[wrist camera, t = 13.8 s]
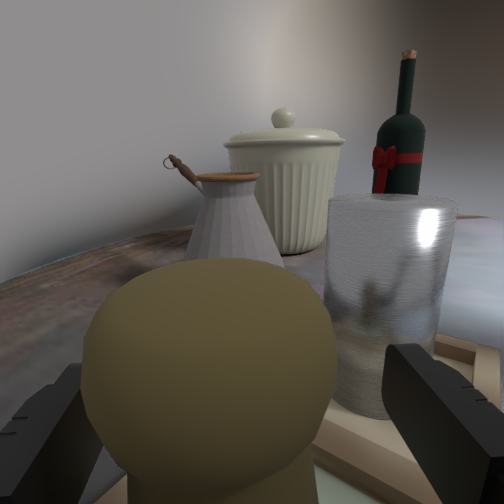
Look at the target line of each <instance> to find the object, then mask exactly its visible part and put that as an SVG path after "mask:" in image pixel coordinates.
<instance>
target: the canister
mask: <svg viewBox="0 0 504 504" xmlns="http://www.w3.org/2000/svg"><path fill="white" fill-rule="evenodd" d="M271 120H272V124H273V126H274V127H275V128H273V129H261V130H252V131H246V132H241V133H238V134H235V135H233V136H232V137H231V139H230V140H229V142H225V143H224V144H223V145H224V147H225V148H227V149H228V153H229V161H230V169H231V173H235V172H253V173H259V174H260V177H259V178H258V179H256V183H255V189H254V196H255V198H256V201H257V203H258V205H259V207H260V210H261V212H262V214H263V216H264V219H265V221H266V223H267V226H268V228H269V230H270V232H271V235H272V237H273V239H274V242H275V244H276V246H277V248H278V251H279V253H280V254H296V253H302V252H307V251H310V250H313V249H314V248H316V247H318V246H319V245H320V244H321V242H322V241H323V239H324V237H325V234H326V230H327V215H328V200H329V199H330V198H332V197H333V192H334V185H335V179H336V173H337V166H338V159H339V152H340V146H341V145H342V144H344V143H345V139H340V138H339V136H338V135H337V134H336V133H335V132H333V131H331V130H326V129H317V128H291V127H292V126H293V124H294V122H295V114H294V112H293V111H292V110H291V109H288V108H281V109H277V110H275V111H274V113H273V114H272V117H271Z"/></svg>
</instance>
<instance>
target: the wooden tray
mask: <svg viewBox="0 0 504 504" xmlns="http://www.w3.org/2000/svg"><path fill="white" fill-rule="evenodd" d="M433 359H434V360H440V361H442V362H443V363H445V364H447V365H448V366H450V367H452V368H454V369H455V370H457V371H459V372H460V373H461V374H462V375H463V376H464V377H465V378H466V379H467V380H468V381H469V382H470V383H472V384H473V385H474V388H475V389H478V390H479V391H480V392H481V393H482V394H483V395H484V396H485V397H486V398H487V399H488V402H492V403H493V404H494V405H495V406H496V407H497V408H498V409H499V410H500V411H501V388H500V349H496V348H493V347H489V346H485V345H481V344H477V343H473V342H470V341H466V340H462V339H458V338H454V337H451V336H447V335H443V334H439V333H437V335H436V341H435V347H434V353H433ZM311 447H312V455H313V462H314V470H315V478H316V486H317V493H318V501H319V504H442V502H441V501H440V499H439V497H438V496H437V494H436V492H435V491H434V489H433V487H432V486H431V484H430V483H429V481H428V479H427V478H426V476H425V474H424V473H423V471H422V469H421V468H420V466H419V464H418V463H417V461H416V460H415V458H414V456H413V455H412V453H411V451H410V450H409V448H408V446H407V445H406V443H405V442H404V440H403V438H402V437H401V435H400V433H399V432H398V430H397V428H396V427H395V425H394V424H393V422H392V421H385V420H376V419H371V418H367V417H364V416H361V415H358V414H356V413H353V412H351V411H349V410H347V409H345V408H344V407H342V406H341V405H339V404H338V403H337V402H335V401H334V400H333V399H332V398H331V400H330V403H329V405H328V408H327V410H326V413H325V415H324V418H323V420H322V423H321V425H320V428H319V430H318V432H317V435H316V437H315V439H314V440H313V441H312V442H311ZM94 504H127V474H126V475H125V476H124V477H123V478H122V479H121V480H120V481H118V482H117V483H116V484H115V485H114V486H113V487H112V488H111V489H109V490H108V491H107V492H106V493H105V494H104V495H103V496H102V497H100V498H99V499H98V500H97V501H96V502H95V503H94Z"/></svg>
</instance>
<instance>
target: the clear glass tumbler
mask: <svg viewBox="0 0 504 504" xmlns="http://www.w3.org/2000/svg"><path fill="white" fill-rule="evenodd" d="M457 209H458V203H457V202H455V201H453V200H449V199H444V198H438V197H431V196H421V195H408V194H354V195H343V196H337V197H332V198H330V199H329V200H328V215H327V237H326V259H325V280H324V302H323V304H324V306H325V307H326V309H327V310H328V312H329V314H330V316H331V321H332V325H333V330H334V334H335V340H336V348H337V357H338V367H337V379H336V388H335V390H334V393H333V395H332V399H333V400H334V401H335V402H337V403H338V404H339V405H341V406H342V407H344V408H345V409H347V410H349V411H351V412H353V413H356V414H358V415H361V416H364V417H367V418H371V419H376V420H385V421H392V420H391V419H390V417H389V415H388V414H387V412H386V410H385V407H384V404H383V401H382V395H381V386H382V377H383V368H384V360H385V352H386V348H387V346H388V345H390V344H405V343H417V344H419V345H420V346H421V347H422V348H423V349H424V350H425V351H426V352H427V353H428V354H429V355H430V356H431V357H432V358H433V353H434V347H435V341H436V335H437V329H438V323H439V317H440V311H441V305H442V299H443V293H444V287H445V281H446V275H447V269H448V263H449V257H450V251H451V245H452V239H453V233H454V227H455V221H456V215H457Z"/></svg>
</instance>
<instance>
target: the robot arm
mask: <svg viewBox="0 0 504 504" xmlns="http://www.w3.org/2000/svg"><path fill="white" fill-rule="evenodd" d="M81 370H82V363H72V364H70V365H68V367H67V368H66V369H65V370H64V372H63V373H62V374H61V375H60V377H59V378H58V379H57V381H56V382H55V383H54V384H50V385H46V386H45V387H44V388H42V389H41V390H40V391H38V392H37V393H36V394H34V395H33V396H32V397H30V398H29V399H28V400H27V401H26V402H25V403H24V404H23V405H22V407H21V408H20V409H19V410H18V411H17V413H16V414H15V415H14V416H13V417H12V421H9V422H8V423H7V425H6V426H5V427H4V428H3V429H2V431H1V432H0V504H78V502H79V500H80V497H81V495H82V493H83V490H84V488H85V486H86V484H87V481H88V479H89V477H90V474H91V472H92V470H93V468H94V465H95V463H96V461H97V458H98V456H99V454H100V452H101V449H102V447H103V443H102V441H101V440H100V438H99V436H98V434H97V433H96V431H95V429H94V427H93V426H92V424H91V422H90V420H89V419H88V417H87V414H86V410H85V406H84V402H83V398H82V394H81V390H80V386H81ZM381 395H382V401H383V404H384V407H385V410H386V412H387V414H388V415H389V417H390V419H391V420H392V422H393V424H394V425H395V427H396V428H397V430H398V432H399V433H400V435H401V437H402V438H403V440H404V442H405V443H406V445H407V446H408V448H409V450H410V451H411V453H412V455H413V456H414V458H415V460H416V461H417V463H418V464H419V466H420V468H421V469H422V471H423V473H424V474H425V476H426V478H427V479H428V481H429V483H430V484H431V486H432V487H433V489H434V491H435V492H436V494H437V496H438V497H439V499H440V501H441V502H442V504H504V414H503V413H502V412H501V411H500V410H499V409H498V408H497V407H496V406H495V405H494V404H493V403H492V402H488V399H487V398H486V397H485V396H484V395H483V394H482V393H481V392H480V391H479V390H478V389H475V388H474V385H473V384H472V383H470V382H469V381H468V380H467V379H466V378H465V377H464V376H463V375H462V374H461V373H460V372H459V371H457V370H455V369H454V368H452V367H450V366H448V365H447V364H445V363H443V362H442V361H440V360H434V359H433V358H432V357H431V356H430V355H429V354H428V353H427V352H426V351H425V350H424V349H423V348H422V347H421V346H420V345H419V344H417V343H405V344H390V345H388V346H387V348H386V352H385V360H384V368H383V377H382V386H381Z"/></svg>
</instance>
